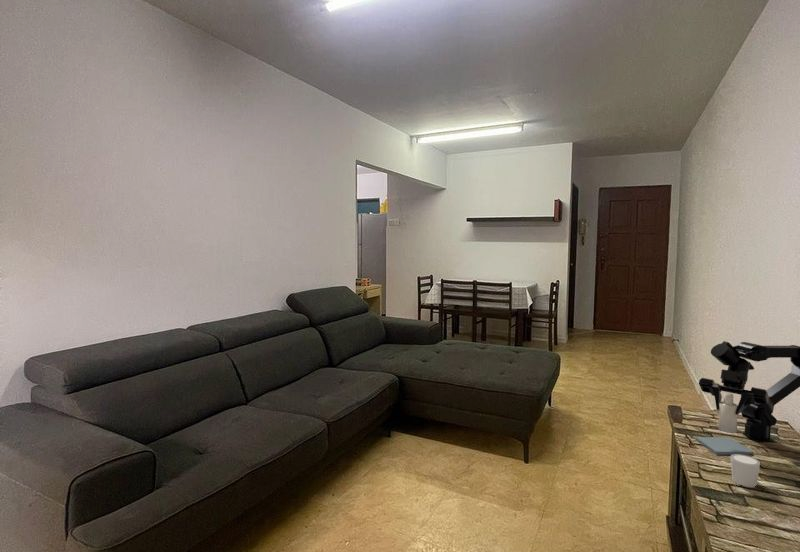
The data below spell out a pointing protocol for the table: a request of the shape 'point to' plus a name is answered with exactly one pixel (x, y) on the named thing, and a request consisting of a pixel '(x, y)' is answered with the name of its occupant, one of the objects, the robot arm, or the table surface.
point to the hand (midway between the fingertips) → (726, 412)
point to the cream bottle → (728, 414)
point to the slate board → (723, 445)
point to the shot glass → (744, 470)
